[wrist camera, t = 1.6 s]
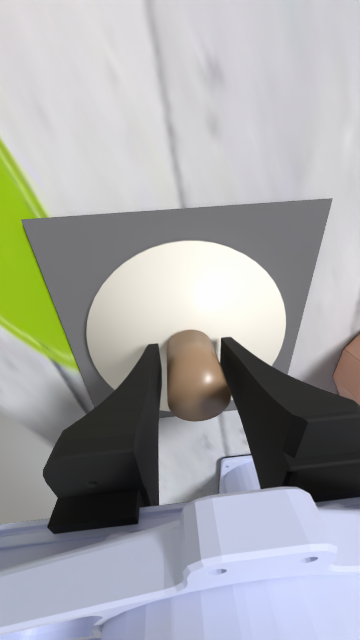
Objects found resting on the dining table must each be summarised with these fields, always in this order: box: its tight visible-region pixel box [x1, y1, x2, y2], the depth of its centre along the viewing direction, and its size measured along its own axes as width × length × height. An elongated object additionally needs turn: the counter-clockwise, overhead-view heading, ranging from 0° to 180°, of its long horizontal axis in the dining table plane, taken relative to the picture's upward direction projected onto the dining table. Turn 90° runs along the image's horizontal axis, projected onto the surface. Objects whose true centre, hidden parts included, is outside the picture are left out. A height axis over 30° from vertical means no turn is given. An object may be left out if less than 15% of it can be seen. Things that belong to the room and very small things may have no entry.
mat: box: [21, 198, 333, 418], centre depth 14 cm, size 16×16×1 cm
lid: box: [86, 240, 286, 421], centre depth 11 cm, size 13×13×5 cm
